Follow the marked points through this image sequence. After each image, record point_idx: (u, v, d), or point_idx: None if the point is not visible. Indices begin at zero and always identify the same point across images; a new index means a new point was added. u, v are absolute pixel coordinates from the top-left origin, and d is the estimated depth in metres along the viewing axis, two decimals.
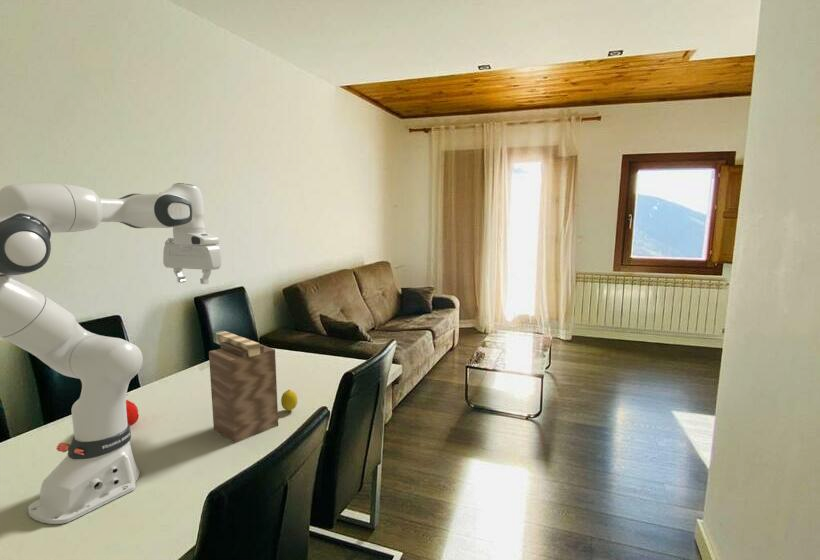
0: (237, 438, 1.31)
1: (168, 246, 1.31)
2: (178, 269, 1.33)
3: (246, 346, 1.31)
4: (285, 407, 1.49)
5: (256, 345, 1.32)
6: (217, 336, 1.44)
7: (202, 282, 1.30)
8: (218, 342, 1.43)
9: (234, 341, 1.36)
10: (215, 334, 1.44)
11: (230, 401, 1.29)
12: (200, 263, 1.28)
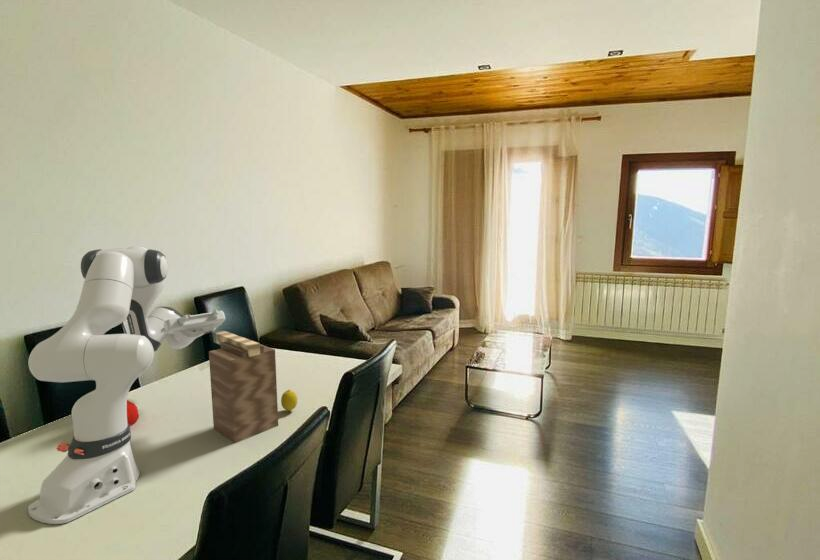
0: (237, 438, 1.31)
1: None
2: None
3: (246, 346, 1.31)
4: (285, 407, 1.49)
5: (256, 345, 1.32)
6: (217, 336, 1.44)
7: None
8: (218, 342, 1.43)
9: (234, 341, 1.36)
10: (215, 334, 1.44)
11: (230, 401, 1.29)
12: None
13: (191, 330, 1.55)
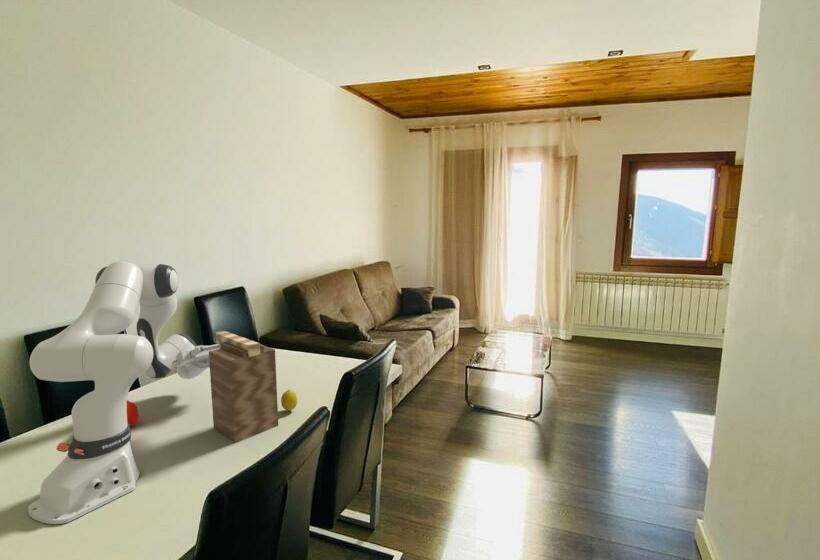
0: (237, 438, 1.31)
1: None
2: None
3: (246, 346, 1.31)
4: (285, 407, 1.49)
5: (256, 345, 1.32)
6: (217, 336, 1.44)
7: None
8: (218, 342, 1.43)
9: (234, 341, 1.36)
10: (215, 334, 1.44)
11: (230, 401, 1.29)
12: None
13: (203, 361, 1.55)
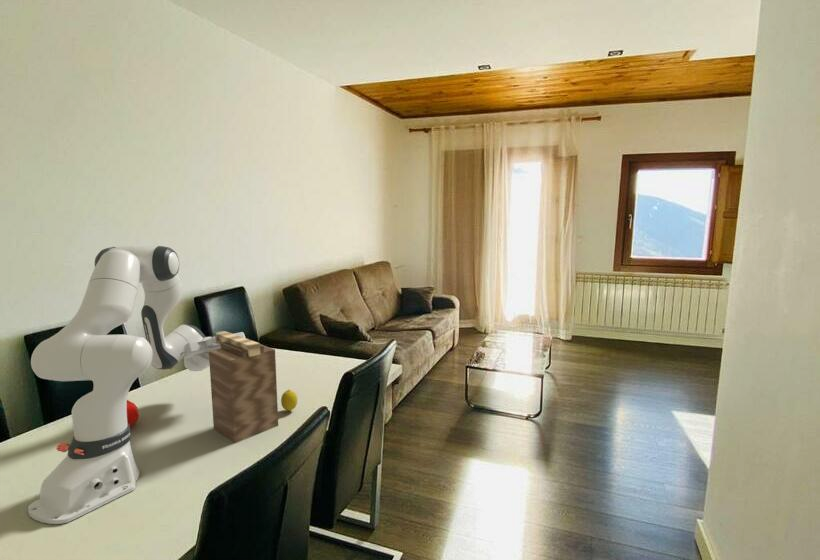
0: (237, 438, 1.31)
1: None
2: None
3: (246, 346, 1.31)
4: (285, 407, 1.49)
5: (256, 345, 1.32)
6: None
7: None
8: (218, 342, 1.43)
9: (234, 341, 1.36)
10: (215, 334, 1.44)
11: (230, 401, 1.29)
12: None
13: None
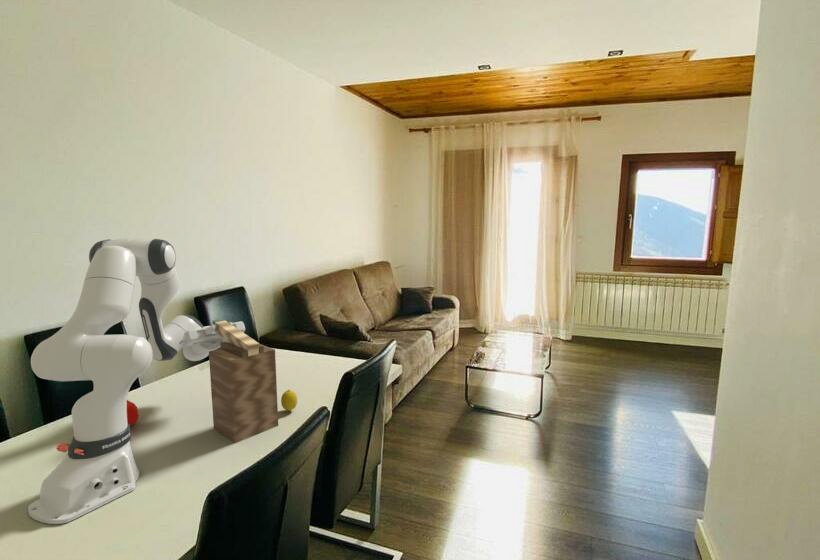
0: (237, 438, 1.31)
1: None
2: None
3: (245, 345, 1.31)
4: (285, 407, 1.49)
5: (255, 345, 1.32)
6: None
7: (228, 322, 1.46)
8: (217, 331, 1.43)
9: (233, 336, 1.36)
10: (214, 323, 1.44)
11: (230, 401, 1.29)
12: None
13: (210, 342, 1.49)
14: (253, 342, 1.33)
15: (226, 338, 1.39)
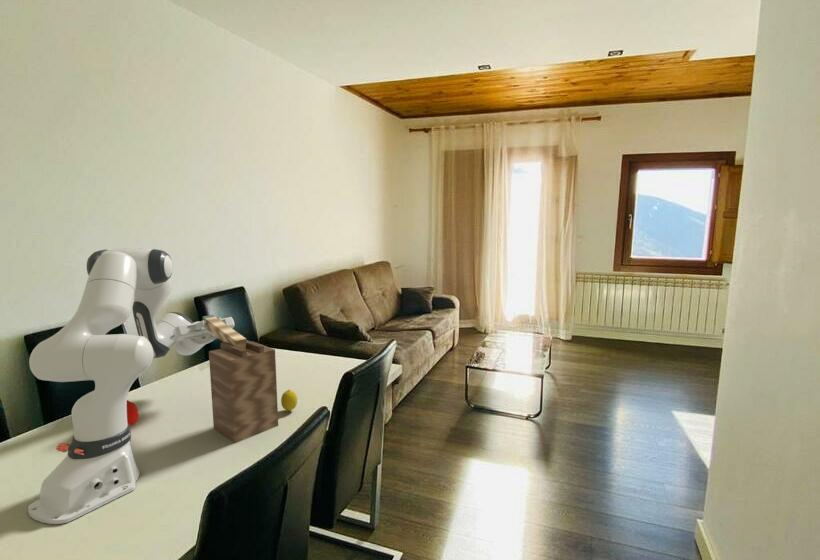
0: (237, 438, 1.31)
1: None
2: None
3: (233, 340, 1.36)
4: (285, 407, 1.49)
5: (243, 340, 1.37)
6: None
7: None
8: (206, 327, 1.48)
9: (222, 332, 1.41)
10: (204, 319, 1.49)
11: (230, 401, 1.29)
12: None
13: (200, 337, 1.55)
14: (240, 337, 1.38)
15: (215, 333, 1.44)
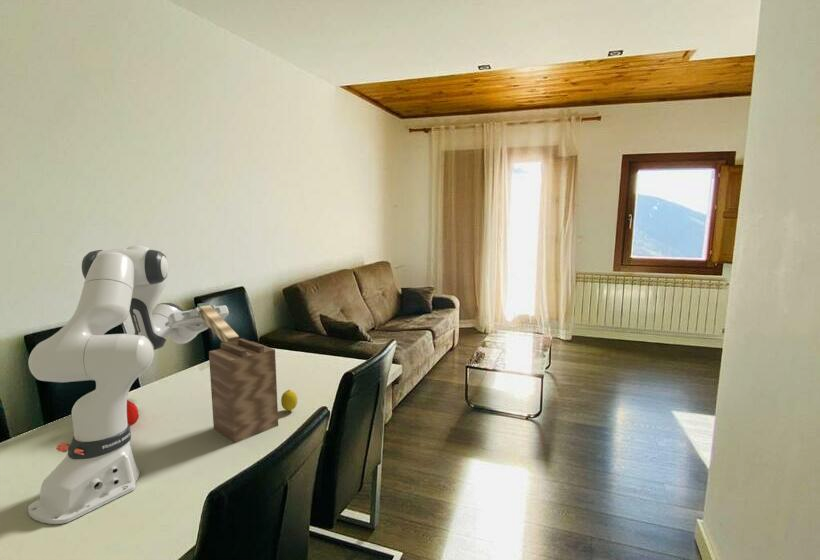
0: (237, 438, 1.31)
1: None
2: None
3: (226, 336, 1.40)
4: (285, 407, 1.49)
5: (235, 338, 1.40)
6: None
7: None
8: (200, 315, 1.51)
9: (215, 325, 1.44)
10: None
11: (230, 401, 1.29)
12: None
13: (195, 324, 1.57)
14: (233, 334, 1.41)
15: (208, 324, 1.47)
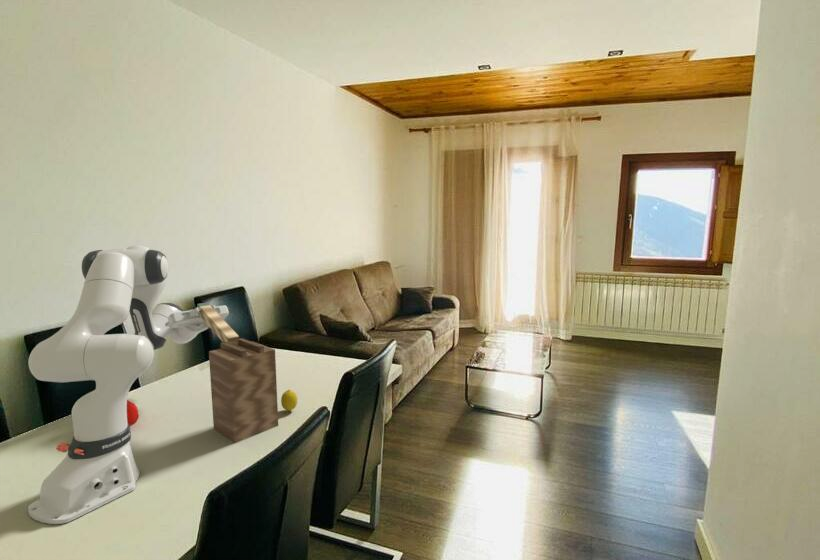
0: (237, 438, 1.31)
1: None
2: None
3: (226, 336, 1.40)
4: (285, 407, 1.49)
5: (235, 338, 1.40)
6: None
7: None
8: (200, 315, 1.51)
9: (215, 325, 1.44)
10: None
11: (230, 401, 1.29)
12: None
13: (195, 324, 1.57)
14: (233, 334, 1.41)
15: (208, 324, 1.47)
